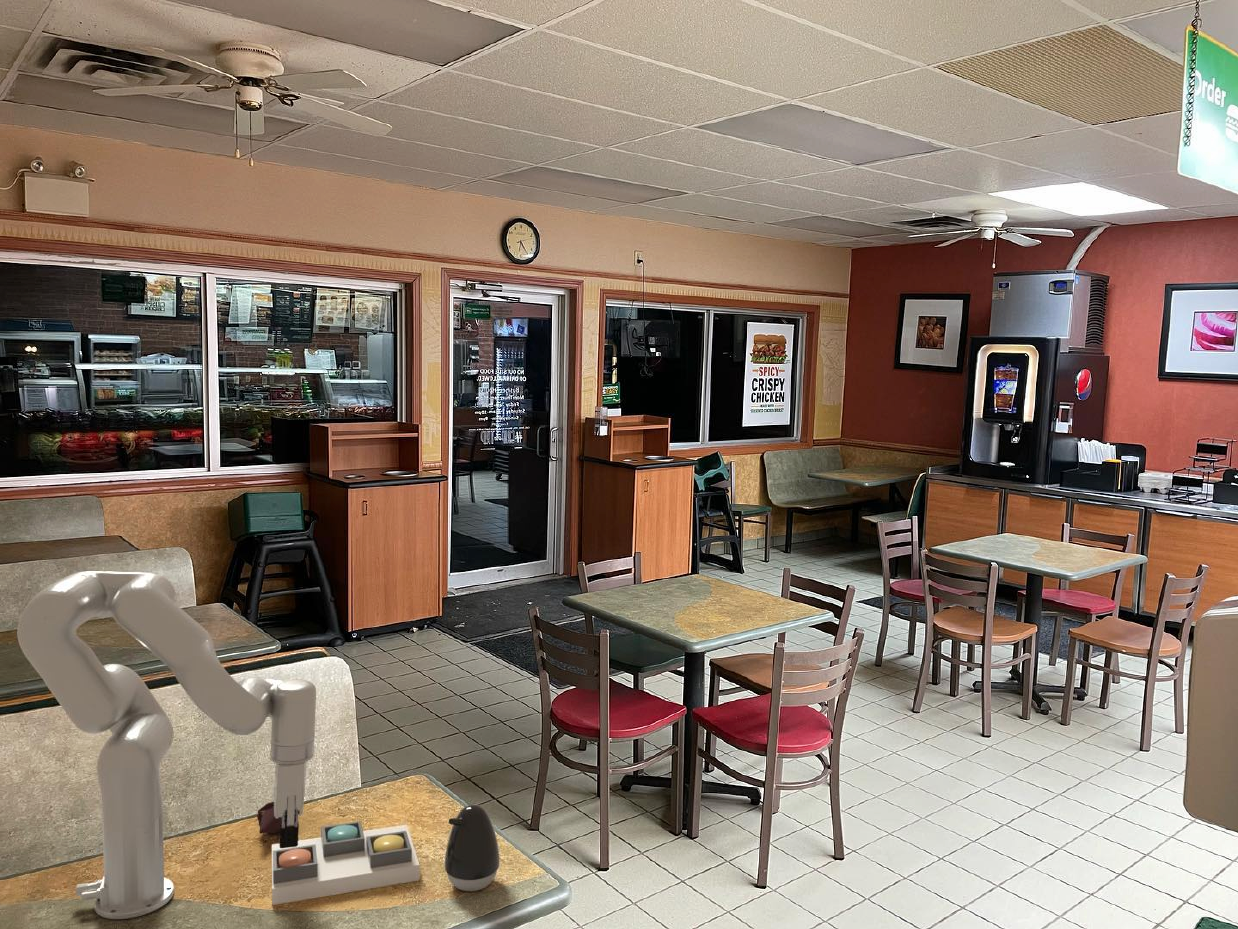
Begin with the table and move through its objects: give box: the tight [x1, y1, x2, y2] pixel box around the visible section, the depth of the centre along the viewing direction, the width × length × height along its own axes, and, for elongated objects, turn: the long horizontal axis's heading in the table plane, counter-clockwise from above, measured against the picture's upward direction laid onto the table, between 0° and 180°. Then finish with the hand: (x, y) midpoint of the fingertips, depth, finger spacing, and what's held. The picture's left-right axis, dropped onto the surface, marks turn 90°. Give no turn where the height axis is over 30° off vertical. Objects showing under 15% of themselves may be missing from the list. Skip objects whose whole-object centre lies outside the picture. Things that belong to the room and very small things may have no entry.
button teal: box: [328, 825, 357, 842], centre depth 180 cm, size 6×6×2 cm
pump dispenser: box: [444, 803, 501, 892], centre depth 171 cm, size 10×10×15 cm
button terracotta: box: [279, 849, 311, 868], centre depth 170 cm, size 6×6×2 cm
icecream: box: [256, 800, 282, 836], centre depth 190 cm, size 7×7×15 cm
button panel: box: [271, 820, 420, 906], centre depth 176 cm, size 26×17×6 cm, turn 111°
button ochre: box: [374, 835, 404, 853], centre depth 176 cm, size 6×6×2 cm
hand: (288, 845), depth 169 cm, fingers closed
